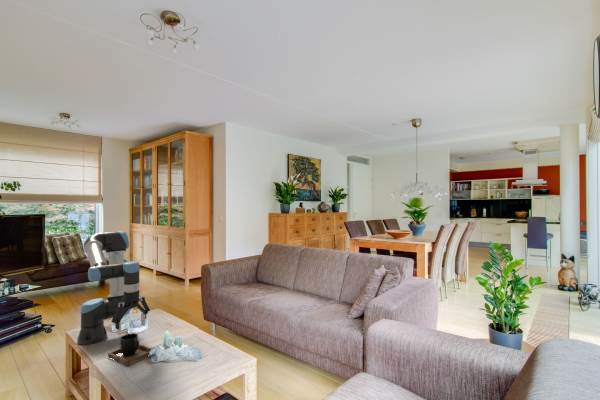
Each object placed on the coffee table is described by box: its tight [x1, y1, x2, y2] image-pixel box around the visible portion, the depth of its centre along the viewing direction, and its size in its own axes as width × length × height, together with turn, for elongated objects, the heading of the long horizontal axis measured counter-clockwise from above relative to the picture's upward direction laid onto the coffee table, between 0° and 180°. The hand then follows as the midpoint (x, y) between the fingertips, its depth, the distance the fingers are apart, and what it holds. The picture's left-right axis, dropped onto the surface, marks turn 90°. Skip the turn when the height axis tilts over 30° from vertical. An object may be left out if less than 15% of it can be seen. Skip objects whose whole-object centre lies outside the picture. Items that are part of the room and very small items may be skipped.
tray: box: [107, 343, 153, 367], centre depth 169 cm, size 18×15×2 cm
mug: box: [119, 333, 140, 357], centre depth 169 cm, size 8×12×10 cm
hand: (131, 329), depth 170 cm, fingers open, 13 cm apart
